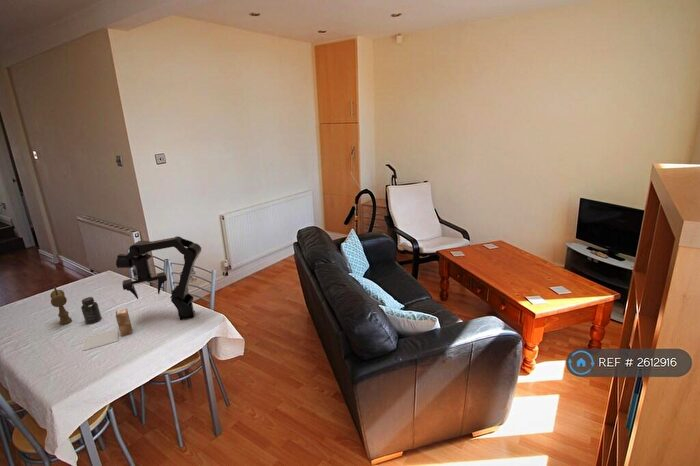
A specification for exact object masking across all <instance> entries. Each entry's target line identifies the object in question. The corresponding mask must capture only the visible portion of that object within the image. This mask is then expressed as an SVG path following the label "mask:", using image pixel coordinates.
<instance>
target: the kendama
mask: <svg viewBox="0 0 700 466" xmlns="http://www.w3.org/2000/svg"><path fill="white" fill-rule="evenodd" d="M67 301H68V299H67V297H66V296H65V292H64V290H62V289H57V287H56V286H53V291H51V293H50V304H51V306H52V307H54V308H58V315H57V317H59V324H60V325H66V324H69V323H71V322H72V321H73V320H72V318H71V317H70V315H69V313H70V312H69V311H67V310H66V308H65V305H66V304H67Z"/></svg>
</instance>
